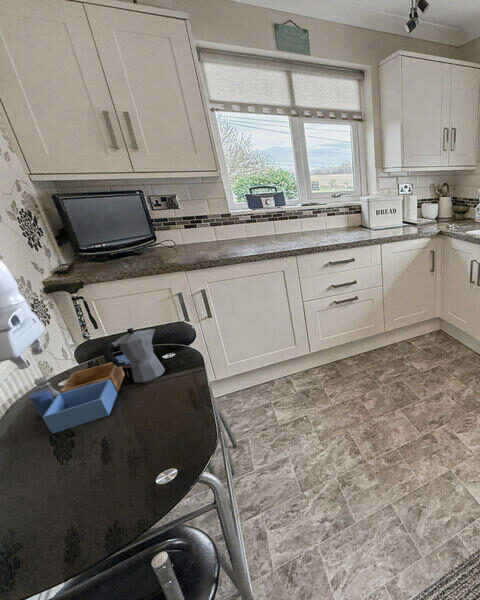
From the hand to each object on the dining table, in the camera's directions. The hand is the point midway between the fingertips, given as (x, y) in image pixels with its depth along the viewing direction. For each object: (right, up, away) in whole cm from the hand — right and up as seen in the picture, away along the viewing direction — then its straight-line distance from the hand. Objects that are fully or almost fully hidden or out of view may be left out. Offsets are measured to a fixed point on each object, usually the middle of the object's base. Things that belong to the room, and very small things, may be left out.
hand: (32, 360), depth 92 cm
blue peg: (0, -17, +5) cm, 17 cm away
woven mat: (+2, -7, +30) cm, 31 cm away
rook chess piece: (-7, -15, +11) cm, 20 cm away
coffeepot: (+17, -10, +20) cm, 28 cm away
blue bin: (+12, -16, +4) cm, 20 cm away
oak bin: (+5, -12, +15) cm, 20 cm away
